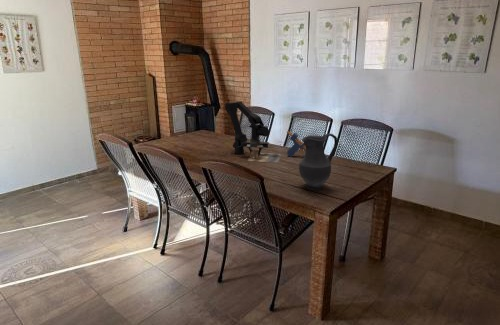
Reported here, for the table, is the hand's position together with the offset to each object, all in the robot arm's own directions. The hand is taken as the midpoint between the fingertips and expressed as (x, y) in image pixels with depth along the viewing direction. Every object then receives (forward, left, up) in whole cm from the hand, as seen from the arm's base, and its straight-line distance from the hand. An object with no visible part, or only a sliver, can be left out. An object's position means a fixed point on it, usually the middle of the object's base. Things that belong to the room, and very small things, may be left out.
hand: (255, 156), depth 241 cm
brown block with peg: (0, -2, -1) cm, 2 cm away
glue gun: (+33, +12, -3) cm, 35 cm away
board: (+7, -2, -2) cm, 7 cm away
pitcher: (+44, -45, -3) cm, 62 cm away
